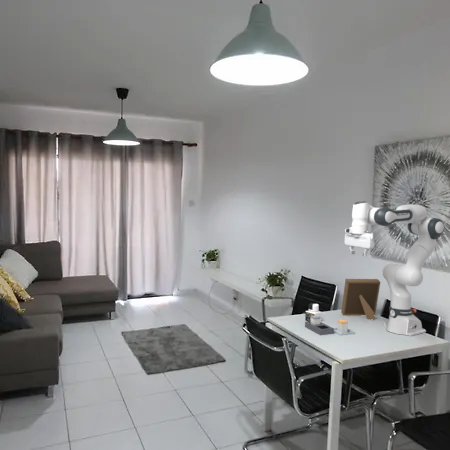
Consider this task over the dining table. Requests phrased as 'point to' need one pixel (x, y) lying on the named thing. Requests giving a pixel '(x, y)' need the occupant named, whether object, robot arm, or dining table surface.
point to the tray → (344, 333)
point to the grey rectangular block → (315, 320)
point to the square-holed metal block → (320, 328)
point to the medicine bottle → (312, 312)
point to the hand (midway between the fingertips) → (358, 255)
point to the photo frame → (360, 297)
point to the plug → (342, 326)
